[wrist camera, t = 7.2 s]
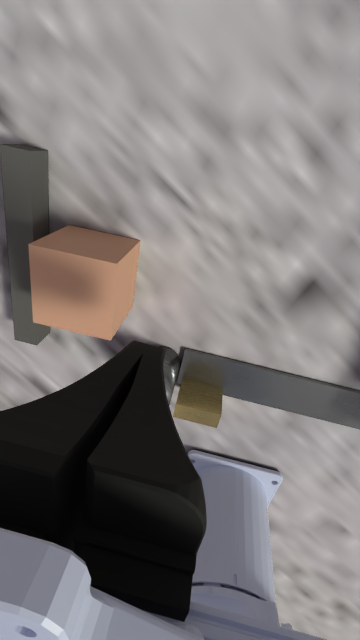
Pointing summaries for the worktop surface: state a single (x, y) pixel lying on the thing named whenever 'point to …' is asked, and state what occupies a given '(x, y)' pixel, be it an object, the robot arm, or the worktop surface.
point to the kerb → (24, 228)
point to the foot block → (83, 280)
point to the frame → (251, 390)
